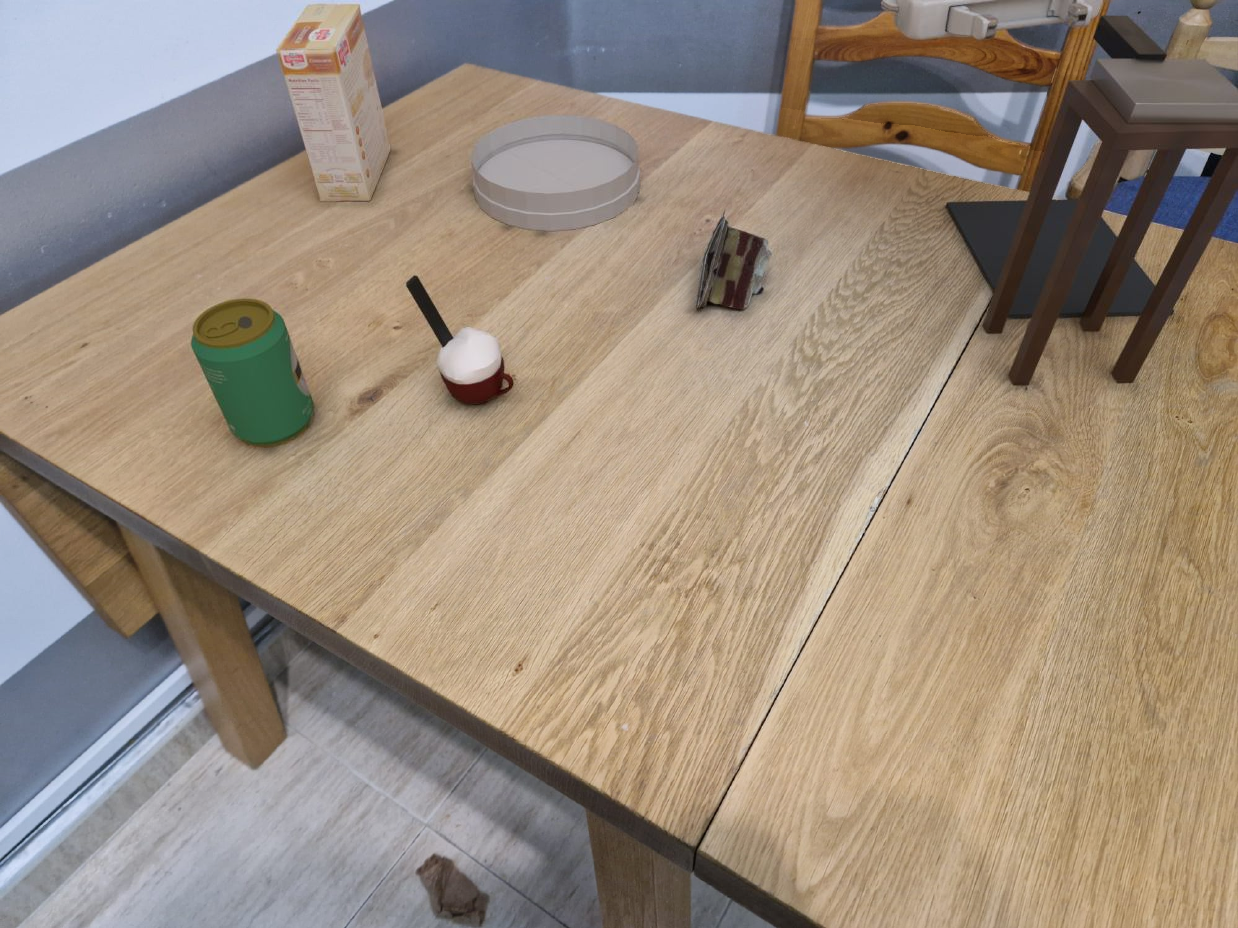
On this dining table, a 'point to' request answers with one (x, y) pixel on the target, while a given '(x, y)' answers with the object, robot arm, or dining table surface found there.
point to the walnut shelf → (1117, 140)
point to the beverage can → (253, 371)
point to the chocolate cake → (732, 267)
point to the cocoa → (464, 355)
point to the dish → (555, 172)
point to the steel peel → (1158, 80)
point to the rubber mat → (1045, 256)
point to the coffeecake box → (336, 100)
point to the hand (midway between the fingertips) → (1036, 24)
